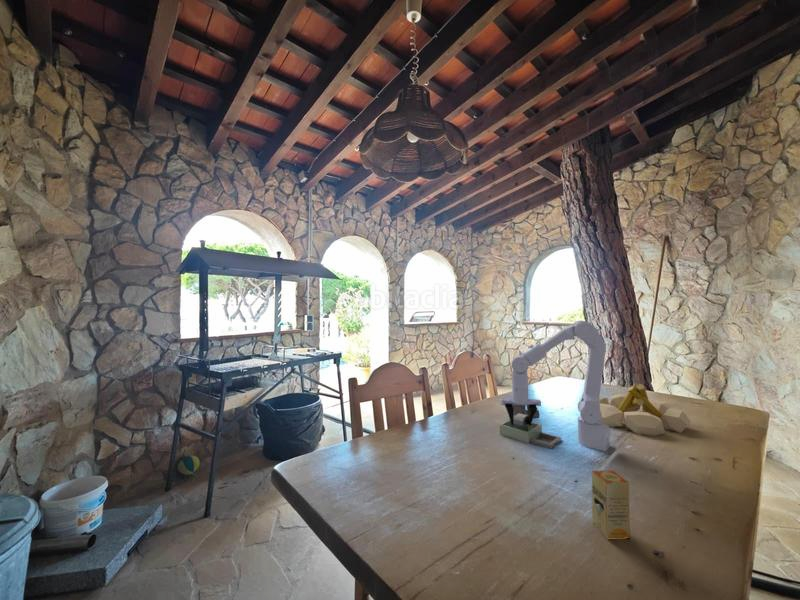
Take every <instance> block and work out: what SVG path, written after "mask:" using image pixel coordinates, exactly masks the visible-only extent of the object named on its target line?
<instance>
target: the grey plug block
mask: <svg viewBox="0 0 800 600" xmlns="http://www.w3.org/2000/svg"><path fill="white" fill-rule="evenodd" d="M513 425H514V428H516V429H519V430H523V431H527V432H528V415H525V414H520V413H518V414H517V415H515V416H513Z"/></svg>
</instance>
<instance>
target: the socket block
mask: <svg viewBox="0 0 800 600" xmlns="http://www.w3.org/2000/svg"><path fill="white" fill-rule="evenodd" d="M529 443H530V444H534V445H536V446H539V447H541V448H546V449H550V450H554V449H555V448H556V447H558V446H559V445H560V444H561V443H563V440H562V437H561V436H557V435H553V434H550V433H547V432H543V431H542V432H540V433H539V436H538V437H537V438H535V439H533V438H530V442H529ZM529 443H528V444H529Z"/></svg>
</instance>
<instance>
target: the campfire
mask: <svg viewBox="0 0 800 600" xmlns="http://www.w3.org/2000/svg"><path fill="white" fill-rule="evenodd" d="M627 392H628V393H627V394H621V393H618V394H615V395H611V396H610V397H609V399H608V397H604V396H599V398H600V411H601V414H602V418H601V423H603V424H605V425H608V426H609V427H611V428H614V427H615V428H616V427H623V421H624V423H625V427H627V428H628V429H629V430H631V431H632V432H633V433H635V434H636V435H637V434H638V435H645V436H646V435H647V436H652V437H656V436H659V435H661V434H664V433H666V431H665V429H666V430H668V431H672V432H676V433H683V431H684V430H685V429H686V428H687V427H688V426H689V425H690V423H691V420H690V418H689V417H688V416H687V414H686V413H685V411H683V410H679V409H674V408H672V407H671V406H670V404H669V402H665V401H661V400H657V399H649V397H648V393H647V390H646V387H645V385H644V384H642V383H637V382H634V384H633V385H632V386H629V387H628V388H627ZM641 407H642V411H640V410H641ZM623 417H624V420H623Z"/></svg>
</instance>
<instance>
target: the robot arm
mask: <svg viewBox="0 0 800 600" xmlns="http://www.w3.org/2000/svg"><path fill="white" fill-rule="evenodd" d="M576 337H577V339H579V340H581V341H582V342H583V343H584V344H585V345H586V346H587V347H588V349H589V351H588V358H587V366H586V374H585V382H584V389H583V392H582V396H581V399H580V401H578V403H577V408H578V409H577V410H578V411H579V413H580V415H579V416H578V417H577V440H578V441H577V442H578V444H579V445H580V446H582V447H585V448H590V449H595V450H598V451H603V452H606V451H607V450H609V448H611V429H610V426H608V425H605V424H603V423H601V418H602V414H601V411H600V398H599V397H600V394H601V386H602V381H603V380H602V379H603V372H604V366H605V365H604V364H605V357H606V351H607V350H606V349H607V345H606V343H605V341H604V338H602V335H601V334H600V331H599V330H598V329H597V327H595V326H594V325H593V324H592V323H590V322H588V321H586V320H578V321H575V322H574V323H572V324H570V325H568V326H566V327H564V328H562V329H561V330H560V331H558V332H556V334H554V335H552V336H551V337H550V338H548V339H547V340H545V341H544V342H543V343H542V344H538V343H535V344H530V345H529V348H527V349H526V350H525V351H523V352H519V354H518V355H517V356H515V357H514V358H513V359H512V362H511V368H512V373H511V374H512V376H511V381H512V383H511V385H512V386H511V387H512V388H511V389H512V392H511V393H512V394H511V395H512V396H511V397H507V398H500V399H499V400H500V401H499V402H500V403H499V404H500V405H501V406H504V407H505V409H506V412H507V414H508V417H509V420H510V423H511V425H513V411H514V408H513V406H512V405H525V406H526V410H527V411H528V425H531V423H532V421H533V420H534V419H533V416H534V414H535V412H536V411H537V410H538V407H542V401H541V400H540V399H534V398H529V376H528V370H529V367H533V366H534V365H536V364H537V363H539V362H540V361H542V360H543V359H545V358H546V357H547V353H548V351H551V349H554V348H555V347H557V346H558V345H560V344H561V343H563V342H565V341H572V340H576Z"/></svg>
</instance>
